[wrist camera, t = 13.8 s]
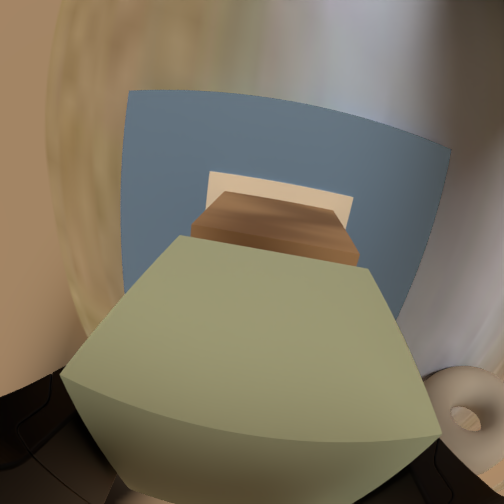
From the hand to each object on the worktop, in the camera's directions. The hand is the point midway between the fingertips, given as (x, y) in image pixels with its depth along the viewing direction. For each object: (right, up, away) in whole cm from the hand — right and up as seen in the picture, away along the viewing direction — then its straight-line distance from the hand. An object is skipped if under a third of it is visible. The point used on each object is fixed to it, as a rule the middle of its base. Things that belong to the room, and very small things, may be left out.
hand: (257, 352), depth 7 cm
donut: (+15, -7, +10) cm, 20 cm away
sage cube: (0, 0, +1) cm, 1 cm away
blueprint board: (+1, +3, +7) cm, 8 cm away
